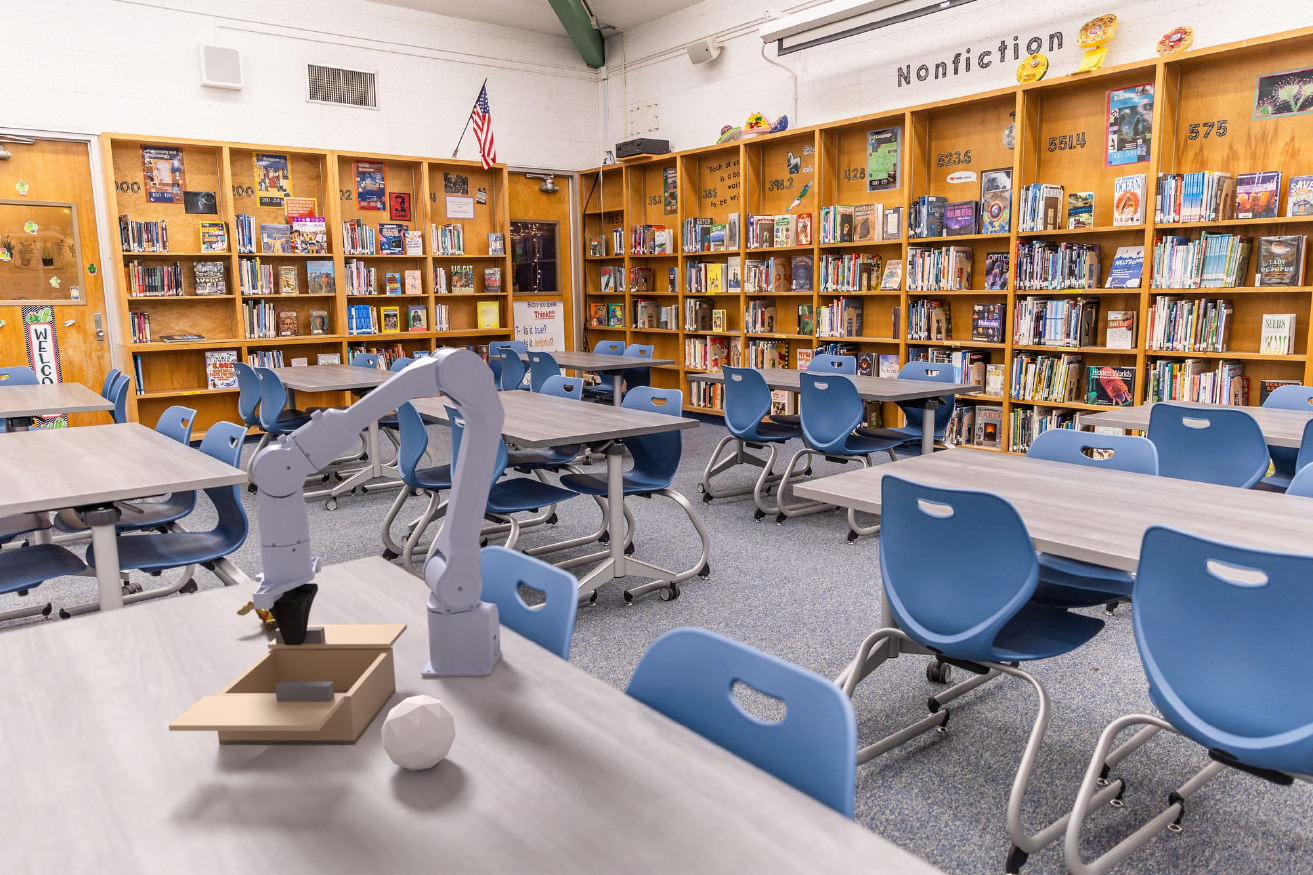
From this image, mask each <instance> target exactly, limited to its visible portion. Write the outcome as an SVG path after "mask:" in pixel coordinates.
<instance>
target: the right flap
mask: <svg viewBox="0 0 1313 875" xmlns="http://www.w3.org/2000/svg"><path fill="white" fill-rule="evenodd" d="M407 629H408V626H407V623H405V624H402V623H399V624H398V623H391V624H389V623H387V624H386V623H385V624H384V623H383V624H381V623H380V624H379V623H378V624H377V623H376V624H375V623H374V624H372V623H371V624H368V623H367V624H308V625H307V632H306V638H305V641H304V642H303V643H302V644H301V645H285V643H284V641H283V638H282V636H281V633H280V630H279V628H276V629H275V630H274V636H275V638H274V639H272V641H270V642H269V643H268V644H267V648H268V650H270V649H348V648H390V647H393V645H394V644H395V643H396V642H397V640H398V639H399V638H400V637H401V636H402V635H403V633H405V631H406V630H407Z"/></svg>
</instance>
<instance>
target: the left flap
mask: <svg viewBox="0 0 1313 875" xmlns="http://www.w3.org/2000/svg"><path fill="white" fill-rule="evenodd" d="M275 688H276V696H215V695H205V696H203V697H202V698H201V699H199V700H198V701H196V703H194V704H193V705H192V706H191V707H189V708H188V709H187V710H186V711H184V713H182V714H181V715H180V716H179V717H177V718H176V719H174V721H173V722H171V723H170V724H168V731H169V732H177V731H178V732H181V731H182V732H189V731H190V732H203V731H204V732H207V731H208V732H216V731H217V732H218V731H319V730H320V728H321V727H322V726H323V725H324V724H325V723H326V722H327V720H328V719H329V718H330V717H331V716H332V715H333V713H334V712H335V711H336V710H337V709H338V708H339V706H340V705H341V704H342V703H343V702H344V696H334V686H333V682H280V683H278V684H277V685H276V686H275Z"/></svg>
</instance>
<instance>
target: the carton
mask: <svg viewBox="0 0 1313 875" xmlns="http://www.w3.org/2000/svg"><path fill="white" fill-rule="evenodd" d="M280 682H333V686H334V696H344V702H343V703H342V704H341V705H340V706H339V708H338V709H337V710H336V711H335V712H334V713H333V715H332V716H331V717H330V718H329V719H328V720H327V722H326V723H325V724H324V725H323V726H322V727H321V728H320V730H319V731H217V736H218V745H219V746H356V744H357V743H358V741H359V740H360V739H361V738H362V736H363V735H364V733H366V731H367V730H368V728H369V727H370V726H371V725H372V723H373V722H374V720H375V719H376V718H377V716H378V715H379V714H380V712H382V710H383V708H384V707H385V706H386V705H387V703H389V701H390V699H391V698H392V697H393V695H394V694H395V693H396V692H397V689H396V688H397V687H396V675H395V662H394V648H393V646H391V647H390V648H348V649H268V651H267V652H266V653H264V654H263V655H262V656H261V657H259V658H258V659H257V660H256V661H255V662H254V663H253V664H251V665H250V666H248V668H246V669H245V670H244V671H243V672H242V673H240V674H239V675H238V676H237V677H236V678H234V679H233V680H232V681H231V682H230V683H229V684H227V685H226V686H225V687H223V688H222V689H221V690H220V691H218V693H216V694H215V695H214V696H276V688H275V686H276V685H277V684H278V683H280Z"/></svg>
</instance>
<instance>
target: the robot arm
mask: <svg viewBox="0 0 1313 875" xmlns="http://www.w3.org/2000/svg"><path fill="white" fill-rule="evenodd" d="M441 395H443V396H444V397H446V398H447V399H448V400H449V401H451V403H452V405H453V406H454V407H455V409H457V411H458V413H459V414H460V415H461V416H462V418H463V419H464V424H463V430H462V436H461V440H460V444H459V450H458V455H457V458H456V463H455V464H456V465H455V468H454V474H453V479H452V483H451V487H450V488H451V489H450V493H449V498H448V501H447V502H448V503H447V507H446V512H445V515H444V516H445V517H444V521H443V526H442V530H441V532H440V534H439V535H438V536H437V539H436V540H435V541H434V542H435V543H434V547H433V550H432V552H431V553H430V555H429V557H428V558H426V560H425V562H424V563H423V566H422V579H423V581H424V583H425V585H426V586H427V588H428V589H430V591H431V592H430V595H429V597H428V600H427V601H426V615H427V627H428V628H427V630H428V631H427V632H428V643H429V644H428V645H429V657H430V660H429V661H428V662H427V664H426V665H425V666H424V668H423V669H422V671H421V672H420V675H421V677H422V676H423V677H452V676H453V677H459V676H460V677H461V676H462V677H468V676H469V677H476V676H478V677H479V676H481V677H484V676H490V675H491V674H492V672H493V671H494V668H495V666H496V665H497V663H498V661H499V659H500V658H501V655H502V653H503V651H502V649H501V636H500V634H501V632H500V631H501V630H500V615H499V614H500V613H499V608H498V606H497V604H496V603H493V602H492V603H490V602H486V601H485V602H484V601H483V600H481V596H482V593H483V578H482V576H481V564H482V552H481V548H480V547H481V545H480V537H481V533H482V527H483V522H484V519H485V514H486V509H487V503H488V499H489V496H490V495H489V494H490V490H491V486H492V485H491V484H492V480H493V476H494V471H495V466H496V462H497V457H498V450H499V447H500V443H501V437H502V432H503V427H504V423H505V419H506V416H505V414H506V412H505V409H504V406H503V402H502V400H501V397H500V395H499V392H498V388H497V386H496V383H495V374H494V371H493V370H492V369H491V368H490V366H489V365H488V364H487V363H486V362H485V361H484V359H483V358H482V357H481V356H480V355H479V354H477V353H476V352H474V351H471V350H469V349H458V348H455V347H451V346H444V347H439V348H437V349H436V350H434V351H433V352H432V353H431V354H430V355H429V356H427V355H426V356H423V357H421V358H419V359H417V360H414V361H413V362H412V363H410V364H409V365H407V366H405V367H403V368H402V369H401V370H400V371H398V372H396V373H395V374H394V375H393V376H390V378H388V379H387V380H386V381H384V382H383V383H381V384H380V385H379V386H377V387H375V389H373V390H372V391H370V392H369V393H368V394H366V395H364V396H363V397H362V398H361V399H359V400H357V401H356V402H355V403H353V404H352V405H351V406H349V407H348V408H346V409H345V410H344V409H337V408H328V409H326V410H325V411H323V412H322V411H321V410H320V409H317V410H315V411H314V412H312V413H311V414H310V418H311V420H309V421H308V422H307V423H305V424H303V425H302V426H300V427H299V428H297V429H296V430H294V431H293V432H291V433H290V434H288V435H285V433H283V434H281V435H279V436H278V437H277V439H276V440H277V441H278V443H279V444H271V445H267V446H266V447H264V448H262V449H261V450H259V452H258V453H257V454H256V455H255V457H254V459H253V462H252V467H251V468H250V469H251V473H252V476H253V479H254V482H255V484H256V486H257V491H256V501H257V503H258V505H257V507H256V514H257V521H258V522H257V523H258V524H257V525H258V531H259V532H258V533H259V534H258V535H259V541H260V542H259V543H260V551H261V553H260V554H261V560H262V561H261V562H262V572H259V574H257V575H255V576H254V579H255V580H254V581H255V582H256V583H259V585H258V587H257V589H256V590H255V592H253V593H252V602H253V603H254V609H253V610H255V609H262V610H264V609H267V611H268V610H269V611H270V613H271V614H272V616H273V617H274V619H275V621H276V622H275V623H276V625H277V627H278V628H279V630H280V633H281V636H282V638H283V641H284V643H285V645H301V644H302V643H303V642H304V641H305V638H306V632H307V625H309V619H310V612H311V609H312V606H313V602H314V600H315V597H316V596H317V593H318V591H319V584H317V583H315V582H313V583H311V582H312V581H313V580H314V579H315V577H316V574H319V573H320V572H322V564H321V557H320V556H319V557H313V556H312V550H311V541H310V540H311V538H310V529H309V528H310V527H309V517H308V506H307V502H306V501H305V497H304V487H303V486H304V485H305V483H306V480H307V477H308V475H311V474H316V473H318V472H319V471H321V470H322V469H324V468H326V466H328V465H330V464H331V463H333V462H334V461H336V460H337V459H338V458H340V457H341V456H343V455H344V454H346V453H348V452H349V451H351V450H352V449H353V448H355V447H356V446H357V445H358V443H359V437H360V433H361V431H363V430H364V429H365V428H367V427H369V426H371V425H372V424H374V423H375V422H377V421H378V420H381V419H382V418H383V417H385V416H387V415H388V414H390V413H391V412H394V411H395V410H397V409H398V408H399V407H401V406H402V405H404V404H406V403H407V402H409V401H412V399H416V398H434V397H436V398H437V397H438V398H439V397H441Z"/></svg>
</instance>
